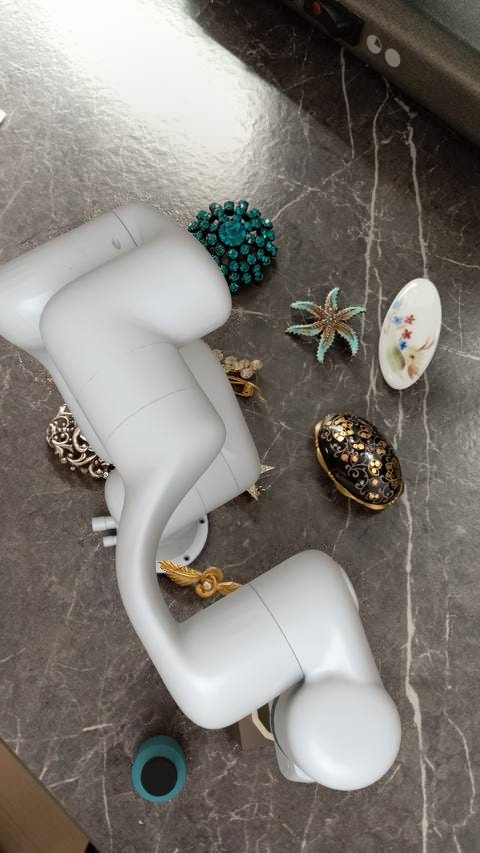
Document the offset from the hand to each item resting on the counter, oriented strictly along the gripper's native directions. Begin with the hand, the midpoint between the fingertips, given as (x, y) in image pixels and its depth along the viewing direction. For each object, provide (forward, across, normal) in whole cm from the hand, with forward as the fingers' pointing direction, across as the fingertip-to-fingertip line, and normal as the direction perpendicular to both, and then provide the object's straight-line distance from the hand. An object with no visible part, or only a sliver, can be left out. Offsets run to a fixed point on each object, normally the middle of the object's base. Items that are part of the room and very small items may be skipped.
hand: (291, 708), depth 87 cm
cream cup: (+14, 0, 0) cm, 14 cm away
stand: (+35, 0, 0) cm, 35 cm away
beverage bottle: (+35, +6, -14) cm, 38 cm away
